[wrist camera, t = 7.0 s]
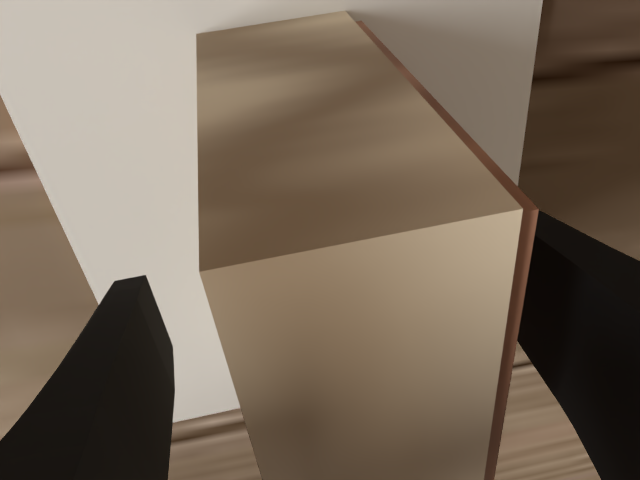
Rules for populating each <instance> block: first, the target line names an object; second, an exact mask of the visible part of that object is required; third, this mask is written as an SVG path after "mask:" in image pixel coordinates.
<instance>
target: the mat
mask: <svg viewBox="0 0 640 480" xmlns="http://www.w3.org/2000/svg"><path fill="white" fill-rule="evenodd" d="M542 3H543V0H0V95H1V97H2V99H3V101H4V103H5V105H6V108H7V110H8V112H9V114H10V116H11V118H12V120H13V123H14V125H15V127H16V129H17V131H18V133H19V135H20V137H21V140H22V142H23V144H24V146H25V148H26V150H27V152H28V155H29V157H30V159H31V161H32V163H33V165H34V167H35V169H36V172H37V174H38V176H39V178H40V180H41V182H42V184H43V187H44V189H45V191H46V193H47V195H48V197H49V199H50V201H51V204H52V206H53V208H54V210H55V212H56V214H57V216H58V219H59V221H60V223H61V225H62V227H63V229H64V231H65V233H66V236H67V238H68V240H69V242H70V244H71V246H72V248H73V251H74V253H75V255H76V257H77V259H78V261H79V263H80V265H81V268H82V270H83V272H84V274H85V276H86V278H87V280H88V283H89V285H90V287H91V289H92V291H93V293H94V295H95V297H96V300H97V302H98V304H100V302H101V301H102V299H103V297H104V296H105V294H106V293H107V291H108V290H109V288H110V287H111V285H112V284H113V282H114V281H116V280H122V279H127V278H132V277H137V276H142V275H146V277H147V279H148V282H149V285H150V287H151V290H152V292H153V295H154V298H155V300H156V303H157V306H158V308H159V311H160V313H161V316H162V319H163V321H164V324H165V327H166V329H167V332H168V334H169V337H170V340H171V342H172V345H173V357H174V379H175V398H174V411H173V422H178V421H182V420H187V419H191V418H196V417H201V416H205V415H210V414H214V413H219V412H224V411H228V410H233V409H237V408H240V405H239V401H238V398H237V395H236V391H235V388H234V385H233V382H232V378H231V375H230V372H229V369H228V365H227V362H226V359H225V355H224V352H223V349H222V346H221V342H220V339H219V336H218V332H217V329H216V326H215V323H214V319H213V316H212V313H211V309H210V306H209V303H208V300H207V296H206V293H205V290H204V286H203V283H202V280H201V277H200V273H199V227H198V147H197V67H196V34H199V33H206V32H212V31H218V30H225V29H231V28H237V27H244V26H250V25H257V24H263V23H269V22H276V21H282V20H288V19H295V18H301V17H308V16H314V15H320V14H327V13H333V12H339V11H346V12H347V13H348V14H349V16H350V17H351V18H352V19H353V20H354V21H362V22H363V23H364V24H365V25H366V26H367V27H368V28H369V29H370V30H371V31H372V32H373V33H374V34H375V35H376V37H377V38H378V39H379V40H380V41H381V42H382V43H383V44H384V45H385V46H386V47H387V48H388V49H389V50H390V51H391V52H392V54H393V55H394V56H395V57H396V58H397V59H398V60H399V61H400V62H401V63H402V64H403V65H404V66H405V67H406V68H407V69H408V71H409V72H410V73H411V74H412V75H413V76H414V77H415V78H416V79H417V80H418V81H419V82H420V83H421V84H422V85H423V86H424V88H425V89H426V90H427V91H428V92H429V93H430V94H431V95H432V96H433V97H434V98H435V99H436V100H437V101H438V102H439V104H440V105H441V106H442V107H443V108H444V109H445V110H446V111H447V112H448V113H449V114H450V115H451V116H452V117H453V118H454V119H455V121H456V122H457V123H458V124H459V125H460V126H461V127H462V128H463V129H464V130H465V131H466V132H467V133H468V134H469V135H470V136H471V138H472V139H473V140H474V141H475V142H476V143H477V144H478V145H479V146H480V147H481V148H482V149H483V150H484V151H485V152H486V153H487V155H488V156H489V157H490V158H491V159H492V160H493V161H494V162H495V163H496V164H497V165H498V166H499V167H500V168H501V169H502V170H503V172H504V173H505V174H506V175H507V176H508V177H509V178H510V179H511V180H512V181H513V182H514V183H515V184H516V185H517V186H518V181H519V173H520V166H521V158H522V151H523V143H524V136H525V129H526V121H527V114H528V106H529V99H530V92H531V84H532V77H533V69H534V62H535V55H536V47H537V40H538V32H539V25H540V18H541V10H542Z"/></svg>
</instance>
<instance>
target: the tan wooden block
mask: <svg viewBox="0 0 640 480" xmlns="http://www.w3.org/2000/svg"><path fill="white" fill-rule="evenodd" d="M196 67H197V147H198V227H199V273H200V277H201V280H202V283H203V286H204V290H205V293H206V296H207V300H208V303H209V306H210V309H211V313H212V316H213V319H214V323H215V326H216V329H217V332H218V336H219V339H220V342H221V346H222V349H223V352H224V355H225V359H226V362H227V365H228V369H229V372H230V375H231V378H232V382H233V385H234V388H235V391H236V395H237V398H238V401H239V405H240V408H241V411H242V414H243V418H244V421H245V424H246V428H247V431H248V434H249V437H250V441H251V444H252V447H253V451H254V454H255V457H256V460H257V464H258V467H259V470H260V474H261V477H262V480H494V477H495V471H496V465H497V459H498V453H499V447H500V441H501V434H502V428H503V422H504V416H505V410H506V404H507V398H508V392H509V386H510V380H511V374H512V368H513V362H514V356H515V350H516V344H517V338H518V332H519V326H520V320H521V314H522V308H523V302H524V296H525V290H526V284H527V278H528V272H529V266H530V260H531V254H532V248H533V242H534V236H535V230H536V224H537V218H538V212H539V209H538V208H537V207H536V206H535V205H534V203H533V202H532V201H531V200H530V199H529V198H528V197H527V196H526V195H525V194H524V193H523V192H522V191H521V190H520V189H519V188H518V186H517V185H516V184H515V183H514V182H513V181H512V180H511V179H510V178H509V177H508V176H507V175H506V174H505V173H504V172H503V170H502V169H501V168H500V167H499V166H498V165H497V164H496V163H495V162H494V161H493V160H492V159H491V158H490V157H489V156H488V155H487V153H486V152H485V151H484V150H483V149H482V148H481V147H480V146H479V145H478V144H477V143H476V142H475V141H474V140H473V139H472V138H471V136H470V135H469V134H468V133H467V132H466V131H465V130H464V129H463V128H462V127H461V126H460V125H459V124H458V123H457V122H456V121H455V119H454V118H453V117H452V116H451V115H450V114H449V113H448V112H447V111H446V110H445V109H444V108H443V107H442V106H441V105H440V104H439V102H438V101H437V100H436V99H435V98H434V97H433V96H432V95H431V94H430V93H429V92H428V91H427V90H426V89H425V88H424V86H423V85H422V84H421V83H420V82H419V81H418V80H417V79H416V78H415V77H414V76H413V75H412V74H411V73H410V72H409V71H408V69H407V68H406V67H405V66H404V65H403V64H402V63H401V62H400V61H399V60H398V59H397V58H396V57H395V56H394V55H393V54H392V52H391V51H390V50H389V49H388V48H387V47H386V46H385V45H384V44H383V43H382V42H381V41H380V40H379V39H378V38H377V37H376V35H375V34H374V33H373V32H372V31H371V30H370V29H369V28H368V27H367V26H366V25H365V24H364V23H363V22H362V21H354V20H353V19H352V18H351V17H350V16H349V14H348V13H347V12H346V11H339V12H333V13H327V14H320V15H314V16H308V17H301V18H295V19H288V20H282V21H276V22H269V23H263V24H257V25H250V26H244V27H237V28H231V29H225V30H218V31H212V32H206V33H199V34H196Z"/></svg>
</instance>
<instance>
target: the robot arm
mask: <svg viewBox="0 0 640 480" xmlns="http://www.w3.org/2000/svg"><path fill="white" fill-rule="evenodd" d="M517 341H518V342H519V344H520V346H521V347H522V349H523V350H524V352H525V353H526V355H527V356H528V358H529V359H530V361H531V362H532V364H533V365H534V367H535V368H536V369H537V371H538V372H539V374H540V375H541V377H542V378H543V380H544V381H545V383H546V384H547V386H548V387H549V389H550V390H551V392H552V393H553V395H554V396H555V398H556V399H557V401H558V402H559V404H560V405H561V407H562V408H563V410H564V412H565V413H566V415H567V417H568V418H569V420H570V422H571V423H572V425H573V427H574V428H575V430H576V432H577V434H578V436H579V438H580V440H581V442H582V444H583V445H584V447H585V449H586V451H587V453H588V455H589V457H590V459H591V461H592V462H593V464H594V466H595V468H596V470H597V472H598V474H599V476H600V478H601V480H640V261H638V260H636V259H634V258H632V257H630V256H628V255H626V254H624V253H621V252H619V251H617V250H615V249H613V248H611V247H609V246H607V245H605V244H603V243H601V242H599V241H597V240H595V239H594V238H592V237H590V236H588V235H586V234H584V233H582V232H580V231H578V230H576V229H574V228H572V227H570V226H569V225H567V224H565V223H563V222H561V221H559V220H557V219H555V218H553V217H551V216H549V215H547V214H545V213H543V212H541V211H539V212H538V218H537V224H536V230H535V236H534V242H533V248H532V254H531V260H530V266H529V272H528V278H527V284H526V290H525V296H524V302H523V308H522V314H521V320H520V326H519V332H518V338H517ZM174 398H175V379H174V357H173V345H172V342H171V340H170V337H169V334H168V332H167V329H166V327H165V324H164V321H163V319H162V316H161V313H160V311H159V308H158V306H157V303H156V300H155V298H154V295H153V292H152V290H151V287H150V285H149V282H148V279H147V277H146V275H142V276H137V277H132V278H127V279H122V280H116V281H114V282H113V284H112V285H111V287H110V288H109V290H108V291H107V293H106V294H105V296H104V297H103V299H102V301H101V302H100V304H99V305H98V307H97V309H96V310H95V312H94V313H93V315H92V317H91V318H90V320H89V321H88V323H87V324H86V326H85V328H84V329H83V331H82V332H81V334H80V335H79V337H78V338H77V340H76V341H75V343H74V344H73V346H72V347H71V349H70V350H69V352H68V353H67V355H66V356H65V358H64V359H63V361H62V362H61V364H60V365H59V367H58V368H57V369H56V371H55V372H54V374H53V375H52V376H51V378H50V379H49V380H48V382H47V383H46V384H45V386H44V387H43V388H42V390H41V391H40V392H39V394H38V395H37V396H36V398H35V399H34V400H33V402H32V403H31V404H30V406H29V407H28V408H27V410H26V411H25V412H24V413H23V415H22V416H21V417H20V418H19V420H18V421H17V422H16V423H15V425H14V426H13V427H12V428H11V429H10V430H9V432H8V433H7V434H6V435H5V436H4V437H3V438H2V440H1V441H0V480H168V469H169V458H170V446H171V435H172V423H173V411H174Z"/></svg>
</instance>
